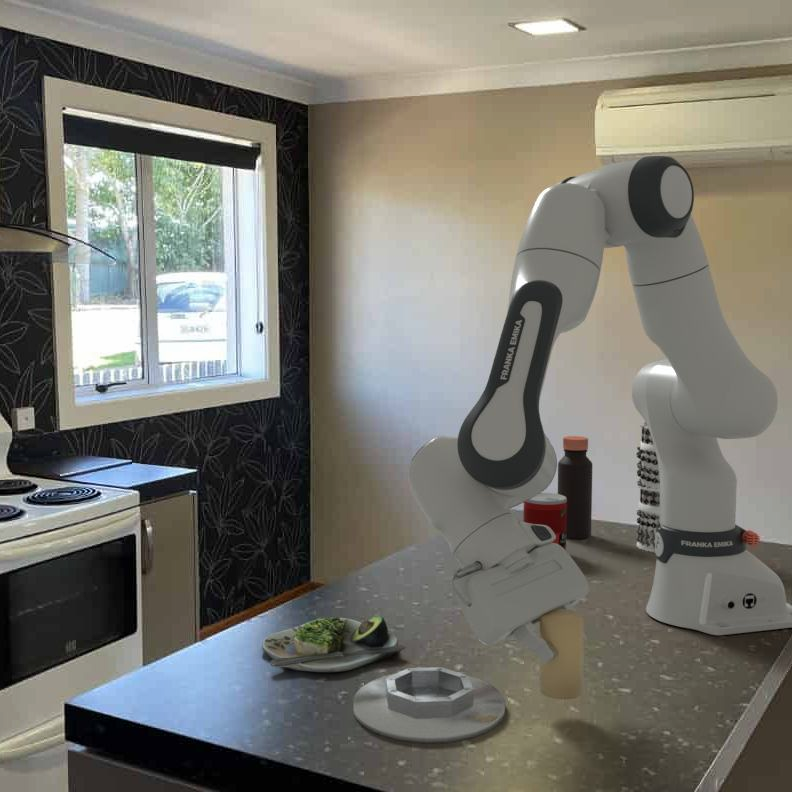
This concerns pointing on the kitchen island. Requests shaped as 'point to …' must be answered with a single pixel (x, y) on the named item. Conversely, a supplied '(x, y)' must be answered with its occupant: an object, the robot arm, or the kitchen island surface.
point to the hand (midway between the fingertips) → (566, 651)
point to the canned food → (548, 514)
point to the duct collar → (429, 705)
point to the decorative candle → (647, 492)
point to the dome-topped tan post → (563, 654)
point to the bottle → (576, 486)
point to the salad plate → (332, 644)
